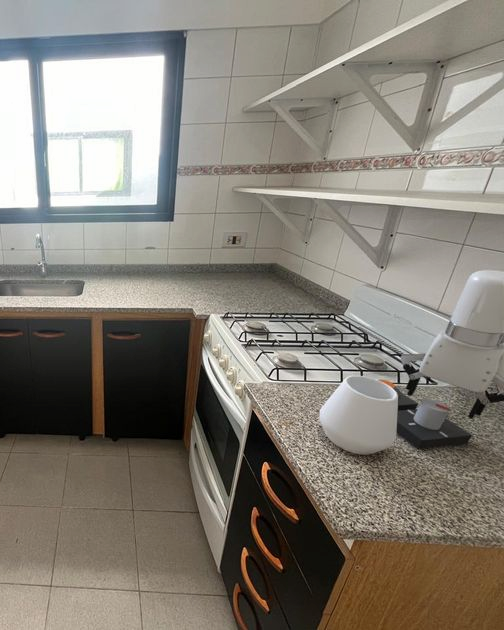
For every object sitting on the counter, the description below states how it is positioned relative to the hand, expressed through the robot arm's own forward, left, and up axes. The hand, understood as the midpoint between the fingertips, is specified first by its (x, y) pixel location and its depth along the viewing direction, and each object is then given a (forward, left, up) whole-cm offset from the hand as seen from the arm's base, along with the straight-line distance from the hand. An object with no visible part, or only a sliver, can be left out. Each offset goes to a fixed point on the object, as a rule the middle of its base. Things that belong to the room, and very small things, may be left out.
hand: (439, 403), depth 75 cm
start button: (+1, -11, -4) cm, 12 cm away
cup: (+19, 0, -8) cm, 20 cm away
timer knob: (+1, 0, -5) cm, 5 cm away
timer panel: (+1, 0, -8) cm, 8 cm away
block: (+1, -11, -8) cm, 14 cm away
